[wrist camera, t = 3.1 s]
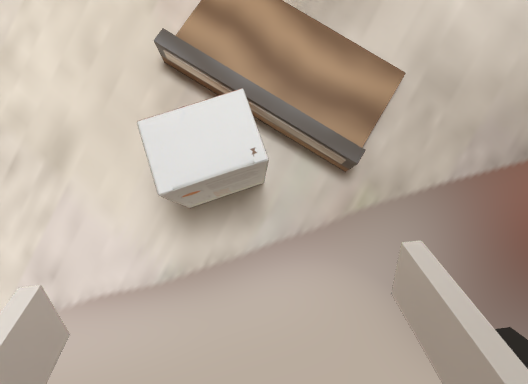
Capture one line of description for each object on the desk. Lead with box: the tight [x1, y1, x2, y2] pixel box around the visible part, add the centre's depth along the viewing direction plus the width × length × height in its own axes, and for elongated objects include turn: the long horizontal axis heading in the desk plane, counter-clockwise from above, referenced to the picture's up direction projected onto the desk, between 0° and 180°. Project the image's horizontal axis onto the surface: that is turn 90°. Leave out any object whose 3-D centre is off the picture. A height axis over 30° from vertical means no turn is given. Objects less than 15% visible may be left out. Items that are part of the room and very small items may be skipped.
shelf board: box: [154, 0, 405, 172], centre depth 32 cm, size 12×22×4 cm, turn 58°
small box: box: [137, 88, 269, 208], centre depth 27 cm, size 8×6×10 cm
